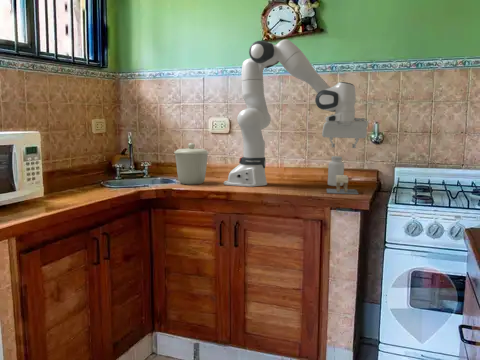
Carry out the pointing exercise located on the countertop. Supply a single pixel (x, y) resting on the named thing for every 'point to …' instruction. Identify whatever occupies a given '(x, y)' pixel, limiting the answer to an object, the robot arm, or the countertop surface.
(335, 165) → the pill bottle
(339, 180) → the stool
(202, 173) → the canister
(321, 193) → the countertop surface
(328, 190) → the mat
